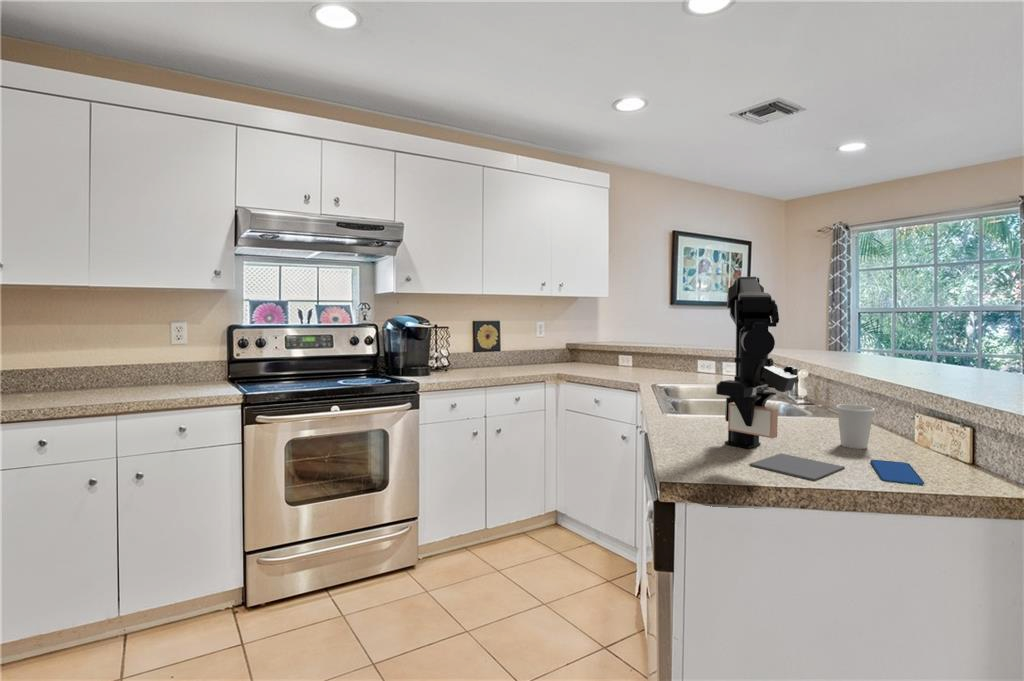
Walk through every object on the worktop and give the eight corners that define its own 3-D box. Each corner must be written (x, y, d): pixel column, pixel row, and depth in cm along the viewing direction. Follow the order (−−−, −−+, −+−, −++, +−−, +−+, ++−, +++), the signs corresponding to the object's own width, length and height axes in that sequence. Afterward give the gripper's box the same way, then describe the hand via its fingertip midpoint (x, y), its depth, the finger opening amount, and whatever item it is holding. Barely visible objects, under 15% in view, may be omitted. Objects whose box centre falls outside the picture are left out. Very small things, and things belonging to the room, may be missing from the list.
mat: (749, 465, 123) (749, 463, 123) (781, 454, 132) (781, 453, 132) (814, 480, 112) (814, 479, 112) (844, 468, 120) (844, 466, 120)
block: (727, 430, 122) (728, 403, 122) (733, 428, 124) (733, 402, 123) (771, 438, 114) (772, 409, 114) (777, 437, 116) (777, 408, 115)
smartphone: (881, 479, 112) (869, 459, 125) (881, 484, 112) (869, 463, 126) (926, 484, 109) (908, 462, 122) (925, 489, 109) (908, 467, 122)
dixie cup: (829, 445, 140) (831, 406, 140) (841, 440, 146) (842, 402, 145) (867, 451, 134) (869, 411, 133) (878, 446, 140) (879, 406, 139)
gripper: (767, 358, 106) (765, 438, 107) (813, 353, 117) (810, 426, 118) (715, 354, 115) (714, 428, 116) (762, 350, 126) (760, 417, 127)
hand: (751, 425), depth 119 cm, fingers closed on block, 2 cm apart
